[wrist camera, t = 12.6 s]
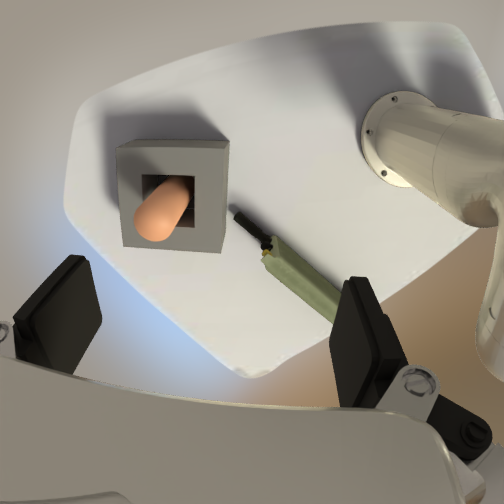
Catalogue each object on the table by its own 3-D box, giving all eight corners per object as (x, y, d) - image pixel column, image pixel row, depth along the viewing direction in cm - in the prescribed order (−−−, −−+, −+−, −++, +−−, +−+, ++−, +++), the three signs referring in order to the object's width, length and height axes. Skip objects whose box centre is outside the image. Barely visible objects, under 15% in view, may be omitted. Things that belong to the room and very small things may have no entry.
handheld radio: (347, 321, 50) (227, 220, 42) (362, 308, 49) (244, 202, 41) (357, 348, 44) (223, 241, 36) (375, 335, 42) (243, 221, 35)
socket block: (229, 140, 37) (224, 148, 32) (225, 232, 43) (220, 253, 37) (134, 139, 37) (115, 147, 32) (139, 226, 42) (123, 246, 37)
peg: (196, 171, 39) (173, 202, 28) (196, 201, 41) (174, 242, 30) (165, 170, 39) (132, 201, 28) (166, 200, 41) (135, 240, 30)
